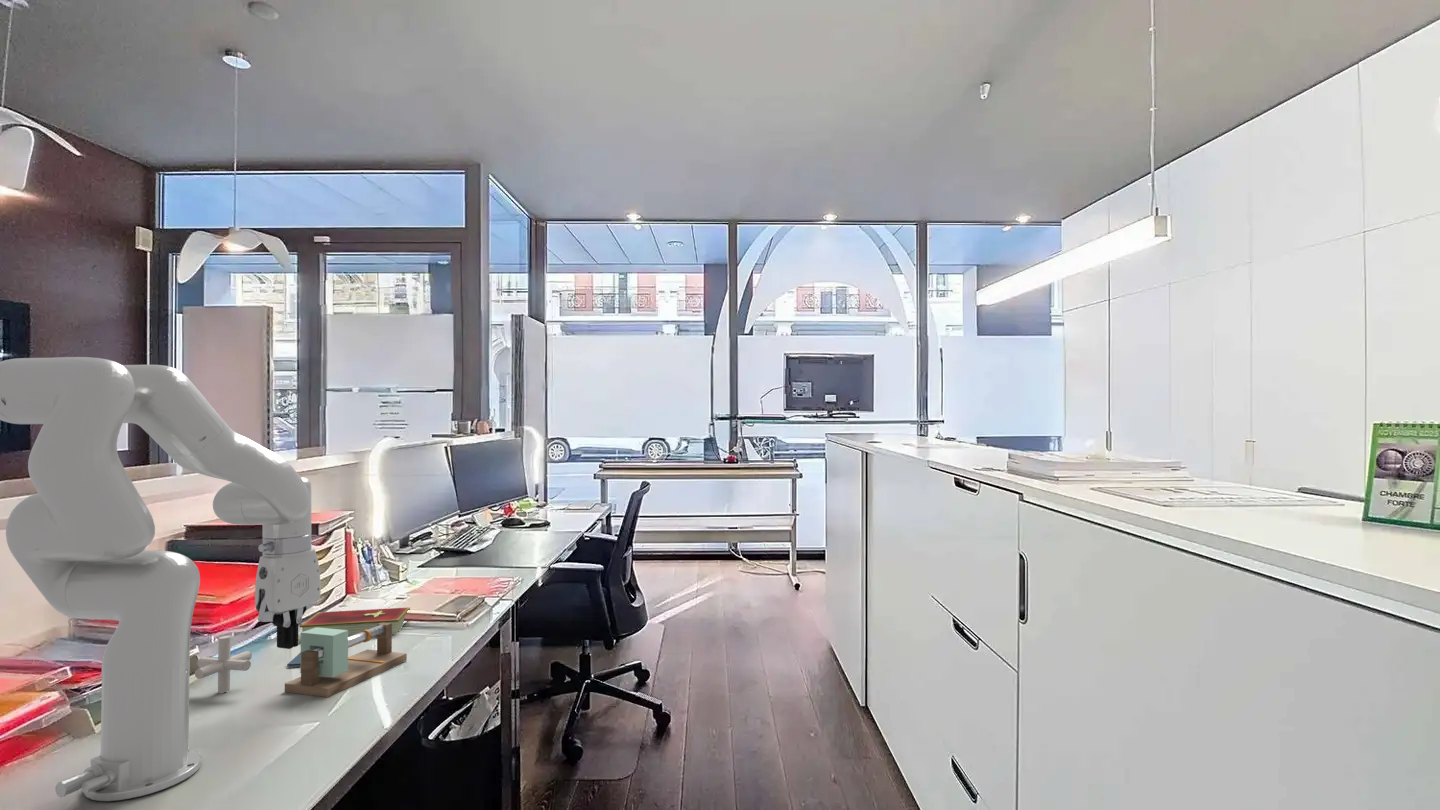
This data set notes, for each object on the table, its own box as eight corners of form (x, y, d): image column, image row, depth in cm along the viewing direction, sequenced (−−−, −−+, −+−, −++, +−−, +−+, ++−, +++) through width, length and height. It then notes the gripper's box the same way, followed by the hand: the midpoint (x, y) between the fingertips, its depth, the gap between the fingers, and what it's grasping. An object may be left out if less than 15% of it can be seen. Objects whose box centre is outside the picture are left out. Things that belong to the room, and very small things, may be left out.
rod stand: (327, 697, 125) (328, 654, 125) (284, 691, 128) (285, 649, 128) (406, 660, 144) (406, 623, 144) (367, 656, 147) (367, 620, 147)
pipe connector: (221, 704, 122) (222, 647, 122) (175, 700, 124) (176, 644, 124) (269, 683, 132) (269, 630, 132) (225, 679, 134) (226, 628, 134)
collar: (332, 677, 127) (333, 635, 128) (300, 673, 130) (300, 632, 130) (347, 670, 131) (348, 630, 131) (315, 666, 133) (316, 627, 133)
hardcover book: (318, 627, 170) (319, 610, 170) (410, 622, 174) (410, 605, 174) (299, 642, 158) (299, 624, 158) (398, 636, 162) (398, 618, 162)
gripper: (265, 554, 116) (266, 663, 116) (337, 538, 131) (337, 635, 131) (232, 552, 119) (232, 659, 118) (306, 537, 133) (306, 632, 133)
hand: (287, 646), depth 125 cm, fingers closed
